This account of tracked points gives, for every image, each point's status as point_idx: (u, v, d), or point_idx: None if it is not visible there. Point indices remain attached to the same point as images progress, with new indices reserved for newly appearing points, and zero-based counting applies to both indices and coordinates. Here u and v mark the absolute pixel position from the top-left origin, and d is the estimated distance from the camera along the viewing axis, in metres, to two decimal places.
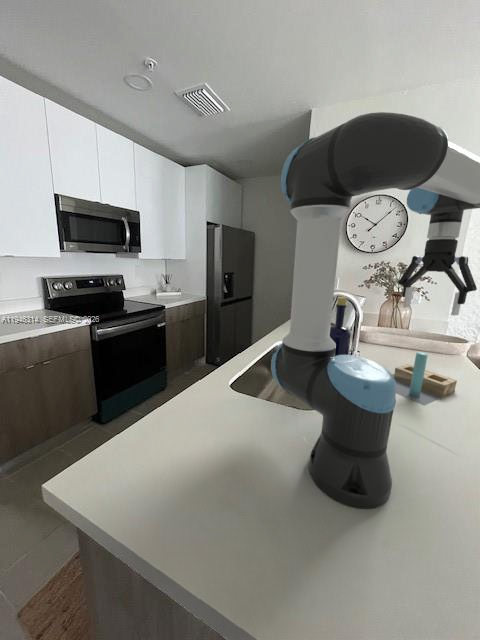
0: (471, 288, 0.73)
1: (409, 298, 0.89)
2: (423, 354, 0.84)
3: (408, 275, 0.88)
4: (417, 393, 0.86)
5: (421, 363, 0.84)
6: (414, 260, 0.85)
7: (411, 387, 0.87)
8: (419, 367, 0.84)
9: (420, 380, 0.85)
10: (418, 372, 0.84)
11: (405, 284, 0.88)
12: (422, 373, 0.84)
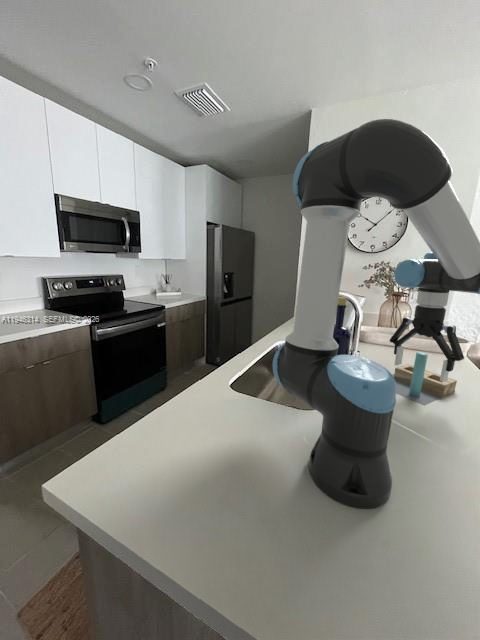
0: (458, 358, 0.75)
1: (400, 356, 0.91)
2: (423, 354, 0.84)
3: (399, 334, 0.90)
4: (417, 393, 0.86)
5: (421, 363, 0.84)
6: (404, 322, 0.87)
7: (411, 387, 0.87)
8: (419, 367, 0.84)
9: (420, 380, 0.85)
10: (418, 372, 0.84)
11: (396, 343, 0.90)
12: (422, 373, 0.84)
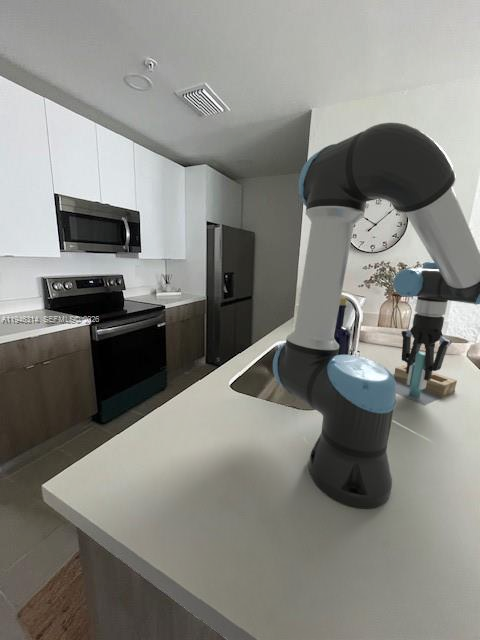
0: (435, 369, 0.80)
1: None
2: (423, 354, 0.84)
3: (407, 349, 0.88)
4: (417, 393, 0.86)
5: (421, 363, 0.84)
6: (404, 334, 0.87)
7: (411, 387, 0.87)
8: (419, 367, 0.84)
9: None
10: (418, 372, 0.84)
11: (408, 362, 0.87)
12: None
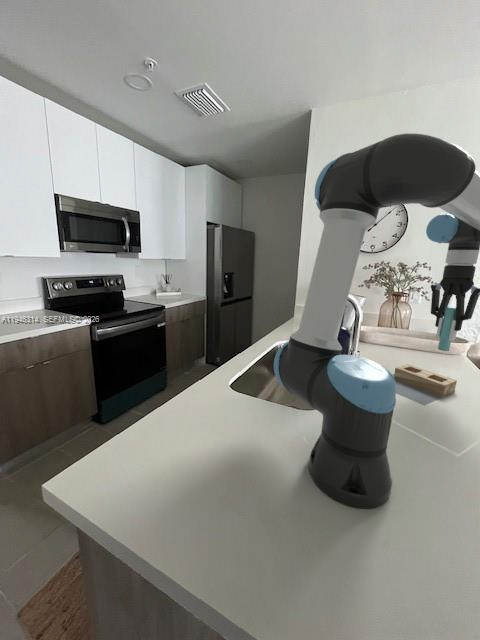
0: (466, 318, 0.82)
1: None
2: (453, 307, 0.85)
3: (436, 303, 0.89)
4: (447, 347, 0.87)
5: (451, 316, 0.85)
6: (434, 288, 0.89)
7: (440, 341, 0.88)
8: (449, 321, 0.86)
9: None
10: (448, 325, 0.86)
11: (438, 314, 0.88)
12: None
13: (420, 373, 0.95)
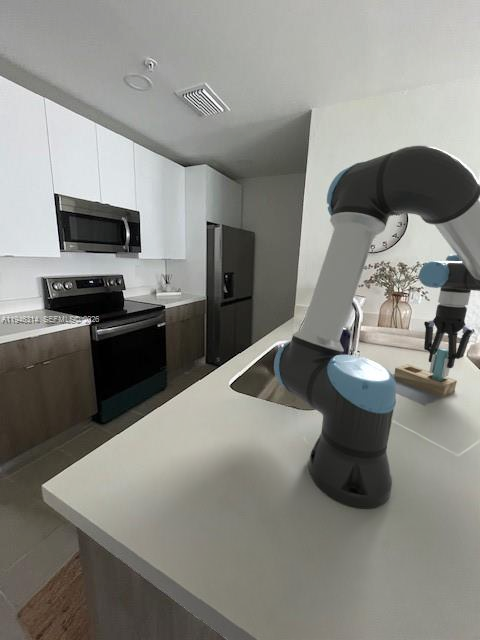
0: (458, 357, 0.85)
1: None
2: (445, 350, 0.89)
3: (430, 339, 0.92)
4: None
5: (442, 359, 0.88)
6: (427, 325, 0.91)
7: None
8: (441, 362, 0.89)
9: (441, 375, 0.89)
10: (440, 367, 0.89)
11: (431, 351, 0.91)
12: None
13: (420, 373, 0.95)
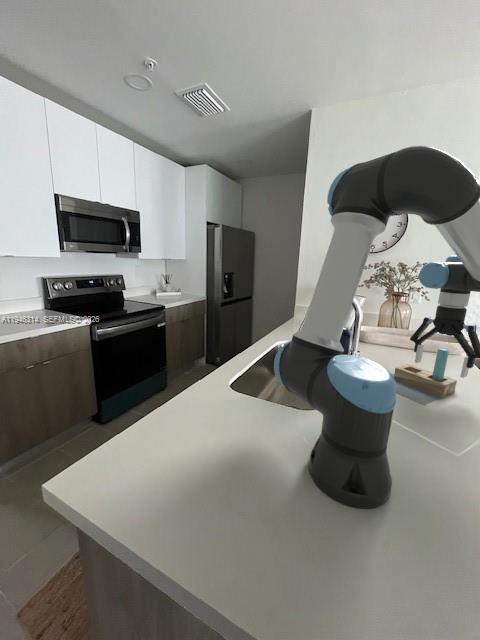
0: (479, 356, 0.80)
1: (420, 354, 0.95)
2: (444, 350, 0.89)
3: (419, 333, 0.94)
4: None
5: (442, 359, 0.88)
6: (425, 321, 0.92)
7: None
8: (441, 362, 0.89)
9: (441, 375, 0.89)
10: (440, 367, 0.89)
11: (417, 341, 0.95)
12: (443, 368, 0.89)
13: (420, 373, 0.95)
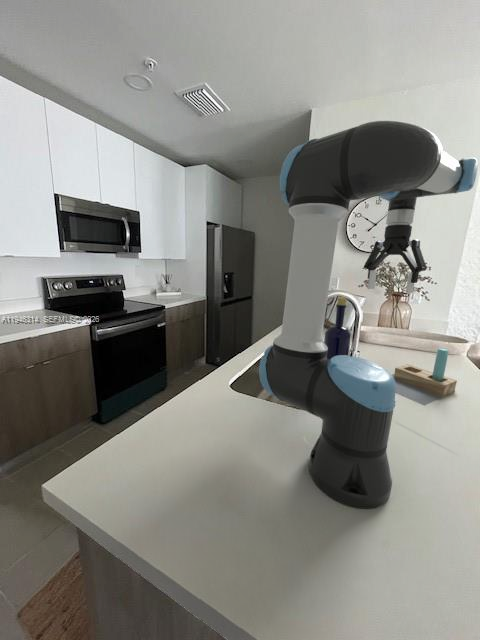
0: (421, 268, 0.82)
1: (373, 280, 0.97)
2: (444, 350, 0.89)
3: (372, 259, 0.97)
4: None
5: (442, 359, 0.88)
6: (376, 245, 0.94)
7: None
8: (441, 362, 0.89)
9: (441, 375, 0.89)
10: (439, 367, 0.89)
11: (369, 267, 0.97)
12: (443, 368, 0.89)
13: (420, 373, 0.95)
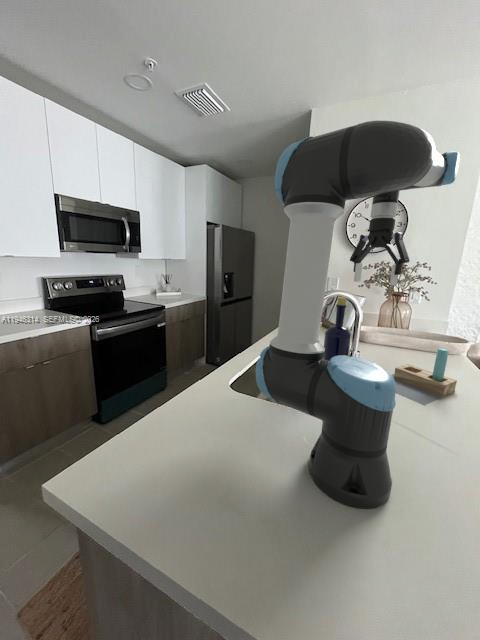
0: (404, 260, 0.83)
1: (359, 273, 0.99)
2: (444, 350, 0.89)
3: (357, 252, 0.98)
4: None
5: (442, 359, 0.88)
6: (361, 238, 0.95)
7: None
8: (441, 362, 0.89)
9: (441, 375, 0.89)
10: (439, 367, 0.89)
11: (355, 260, 0.98)
12: (443, 368, 0.89)
13: (420, 373, 0.95)
